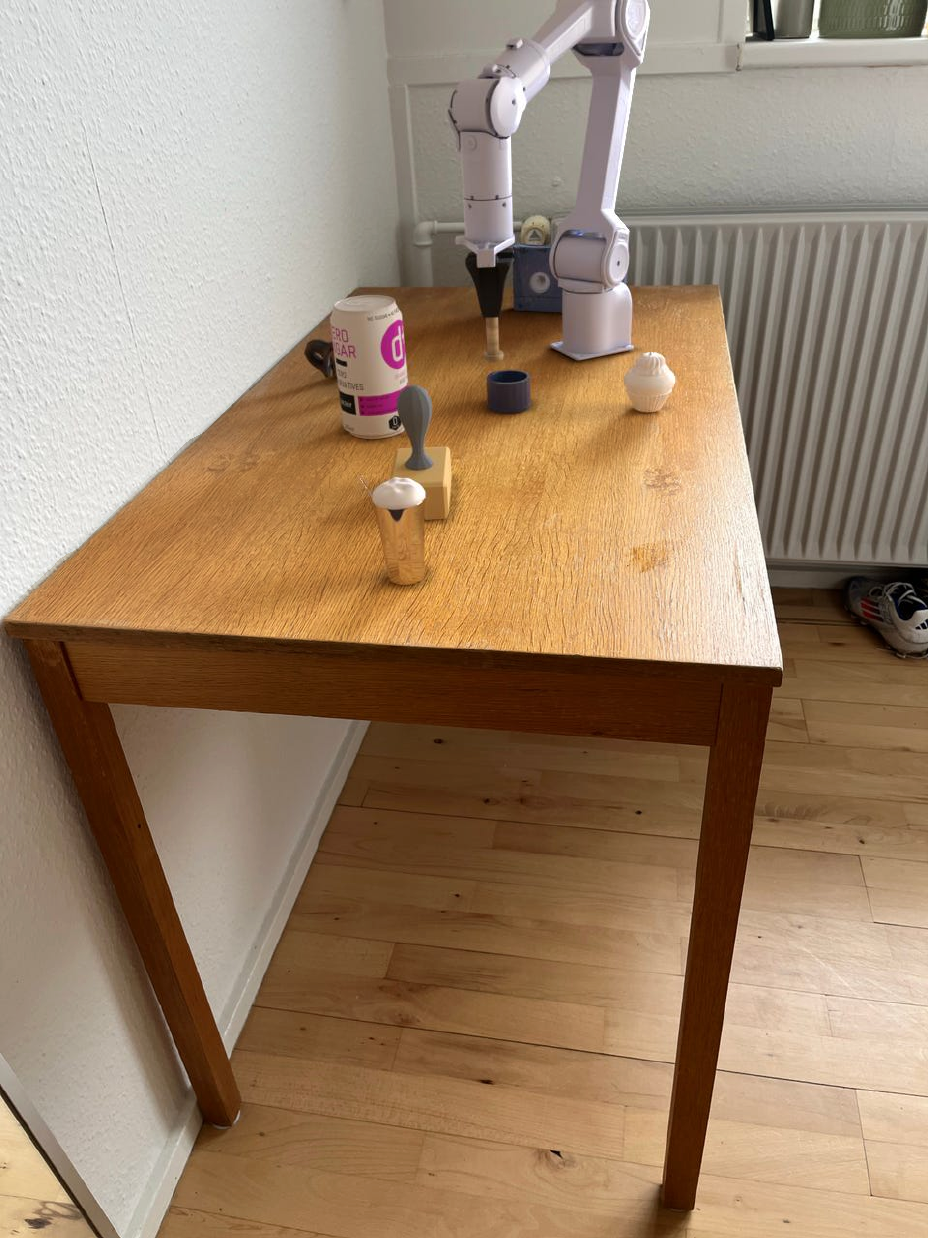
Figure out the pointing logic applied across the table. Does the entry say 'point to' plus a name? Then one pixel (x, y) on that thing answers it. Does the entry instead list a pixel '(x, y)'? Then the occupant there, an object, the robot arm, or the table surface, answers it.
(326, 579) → the table surface
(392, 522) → the milkshake
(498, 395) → the cup
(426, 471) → the rubber stamp
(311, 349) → the pottery mug
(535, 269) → the vhs cassette tape
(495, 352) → the beige capped rod
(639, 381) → the muffin
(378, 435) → the supplement can
